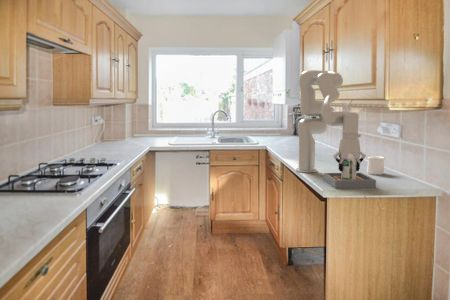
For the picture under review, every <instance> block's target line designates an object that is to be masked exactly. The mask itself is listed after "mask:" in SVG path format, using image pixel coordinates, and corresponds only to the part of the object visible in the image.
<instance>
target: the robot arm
mask: <svg viewBox="0 0 450 300" xmlns="http://www.w3.org/2000/svg"><path fill="white" fill-rule="evenodd" d="M343 81H344V79H343V77H342V75H341V74H340V73H339V72H335V71H330V70H317V69H316V70H315V69H314V70H311V69H309V70H304V71H303V72H302V73H301V74H300V75H299V79H298V84H299V88H300V89H299V90H300V113H301V115H302V116H303V117H315V118H303V119H300V120H299V121H298V123H297V132H298V167H297V168H296V169H295V171H296V172H297V173H305V174H306V173H309V174H310V173H317V172H318V169H317V168H315V167H316V166H315V164H316V163H315V162H316V140H315V139H314V137H313V136H314V135H322V134H324V133H326V132H327V131H326V130H327V126H329V127H342V134H341V136H342V137H341V139H340V141H339V146H338V151H337V152H336V153H335V154H333V155H332V156H333V158H334V160H335V161H336V162H337V163H338V171H340V173H341V172H342V171H343V164H342V162H343V160H344V159H347V157H348V154H349V153H354V158H355V159H356V160H357V169H356V172H359V171H360V166H361V163H362V162H364V160H365V158H366V157H367V155H366V154H365V153H364V152H362V151H361V143H360V139H359V138H361V137H362V135H361V134H359V119H360V118H359V117H360V115H359V113H358V112H352V111H342V110H339V111H333V110H332V107H331V104H332V103H334V102H336V101H337V100H338V99H339V98H340V96H341V95H340V91H339V90H338V88H339V89H340V88H341V86H343ZM313 86H318V88H319V91H320V92H321V95H322V97H323V100H321V99H319V100H318V99H317V100H316V91H315V88H314V87H313Z"/></svg>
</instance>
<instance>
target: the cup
mask: <svg viewBox="0 0 450 300" xmlns="http://www.w3.org/2000/svg"><path fill="white" fill-rule="evenodd" d="M384 172H385V157H384V156H380V155H370V156H367V166H366V173H367V174H368V175H373V176H379V175H384Z"/></svg>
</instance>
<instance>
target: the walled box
mask: <svg viewBox="0 0 450 300" xmlns="http://www.w3.org/2000/svg"><path fill="white" fill-rule="evenodd" d="M323 180H324V182H326V183H327V184H328V185H330V186H331V187H332V188H334V189H376V188H377V187H376V186H377V180H376V179H375V178H373V177H371V176H368V175H367V174H365V173H363V172H356V180H341V172H324V173H323Z"/></svg>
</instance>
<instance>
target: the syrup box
mask: <svg viewBox="0 0 450 300" xmlns="http://www.w3.org/2000/svg"><path fill="white" fill-rule="evenodd" d="M342 164H343V171H342V172H341V171H340V173H341V180H356V173H357V171H356V169H357V160H356V159H355V158H354V153H349V154H348V157H347V159H344V160H343V162H342Z"/></svg>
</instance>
